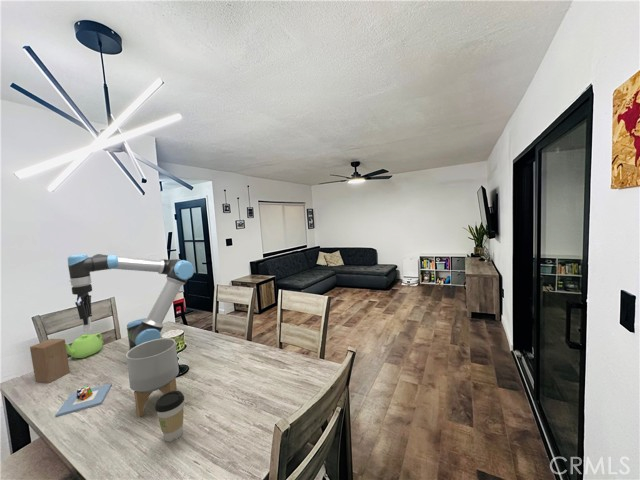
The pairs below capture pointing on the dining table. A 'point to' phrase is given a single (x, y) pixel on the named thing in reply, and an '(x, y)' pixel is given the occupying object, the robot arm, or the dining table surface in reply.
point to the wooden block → (49, 360)
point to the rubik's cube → (84, 393)
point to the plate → (77, 404)
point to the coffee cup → (170, 414)
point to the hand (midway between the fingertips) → (88, 330)
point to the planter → (152, 369)
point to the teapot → (85, 346)
